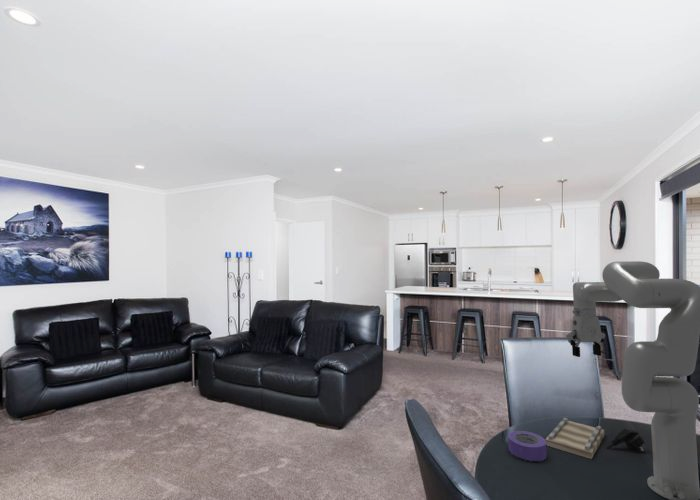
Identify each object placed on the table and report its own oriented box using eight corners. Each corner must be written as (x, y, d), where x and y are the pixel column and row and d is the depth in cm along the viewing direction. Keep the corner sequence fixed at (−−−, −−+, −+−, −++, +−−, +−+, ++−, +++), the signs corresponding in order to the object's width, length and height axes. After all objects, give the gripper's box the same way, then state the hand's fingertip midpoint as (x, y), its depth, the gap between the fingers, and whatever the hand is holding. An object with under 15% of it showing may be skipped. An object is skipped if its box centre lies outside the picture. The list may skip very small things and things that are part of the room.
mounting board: (591, 459, 119) (591, 449, 119) (545, 445, 129) (545, 436, 129) (604, 435, 136) (604, 426, 137) (562, 424, 146) (562, 416, 146)
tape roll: (537, 466, 115) (536, 450, 116) (502, 452, 124) (501, 437, 125) (552, 454, 123) (551, 439, 123) (518, 441, 132) (518, 427, 132)
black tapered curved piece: (600, 442, 129) (626, 422, 129) (613, 460, 128) (640, 440, 129) (611, 450, 123) (639, 429, 124) (625, 469, 123) (653, 448, 123)
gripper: (573, 314, 140) (575, 359, 139) (611, 313, 143) (613, 356, 142) (559, 312, 147) (560, 354, 146) (595, 311, 151) (597, 352, 150)
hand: (586, 355), depth 144 cm, fingers open, 9 cm apart
